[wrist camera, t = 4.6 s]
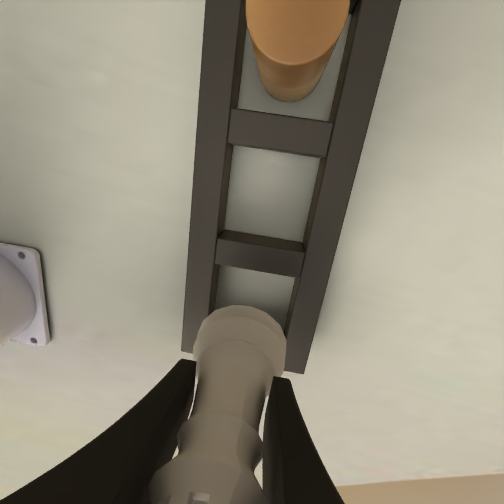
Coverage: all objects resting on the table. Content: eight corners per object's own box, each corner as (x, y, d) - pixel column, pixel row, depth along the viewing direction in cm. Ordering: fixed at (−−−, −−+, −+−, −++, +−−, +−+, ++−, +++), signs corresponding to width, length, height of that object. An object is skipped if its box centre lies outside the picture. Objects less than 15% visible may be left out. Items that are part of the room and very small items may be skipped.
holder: (190, 333, 20) (180, 351, 18) (220, -45, 13) (210, -80, 11) (301, 354, 20) (303, 374, 18) (396, -24, 13) (416, -57, 11)
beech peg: (255, 97, 15) (239, 58, 9) (264, 26, 14) (253, -70, 8) (314, 106, 15) (336, 71, 9) (328, 34, 13) (363, -58, 8)
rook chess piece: (229, 282, 13) (158, 453, 5) (305, 332, 13) (336, 554, 6) (184, 344, 14) (77, 548, 7) (253, 387, 15) (226, 623, 7)
